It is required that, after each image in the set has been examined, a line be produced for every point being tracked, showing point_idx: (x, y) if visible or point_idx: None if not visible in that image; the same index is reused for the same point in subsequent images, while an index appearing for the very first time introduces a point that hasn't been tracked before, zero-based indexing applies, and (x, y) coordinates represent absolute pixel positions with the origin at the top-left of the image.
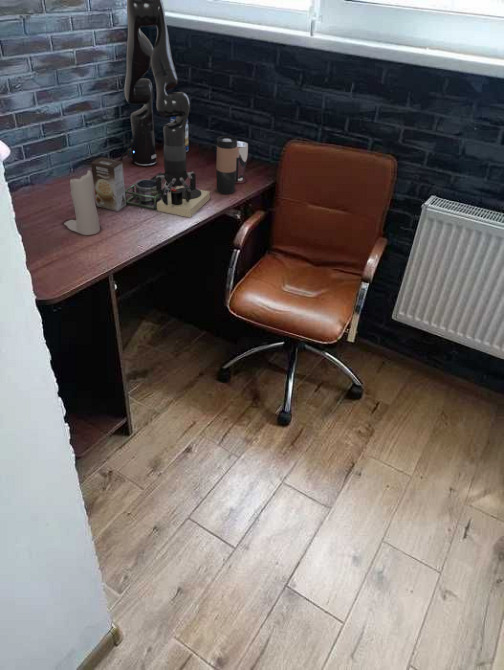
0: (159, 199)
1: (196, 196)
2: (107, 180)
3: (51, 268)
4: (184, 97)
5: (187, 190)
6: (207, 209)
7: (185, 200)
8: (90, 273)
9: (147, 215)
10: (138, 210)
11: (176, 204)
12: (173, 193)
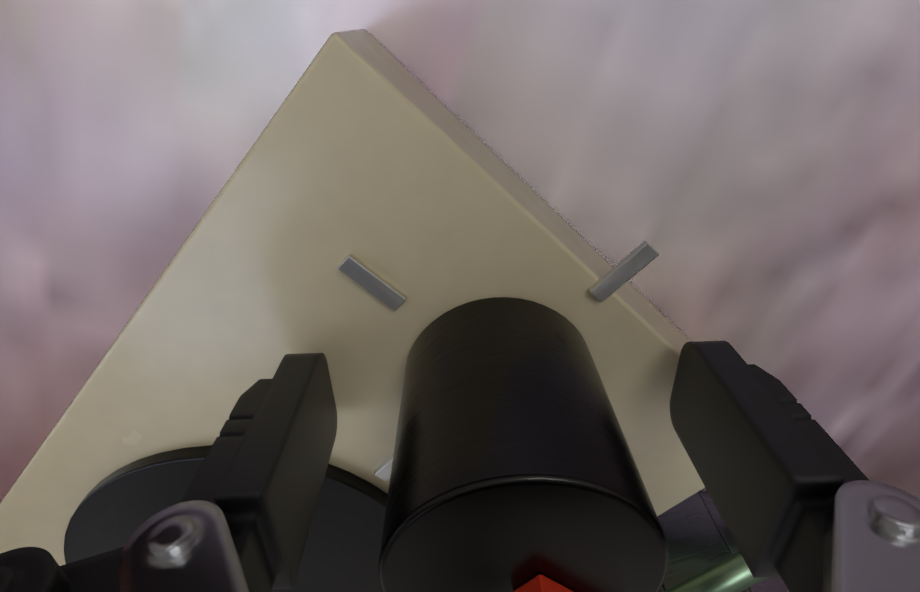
0: None
1: (141, 481)
2: None
3: None
4: None
5: (229, 545)
6: (52, 243)
7: (337, 422)
8: None
9: (904, 284)
10: (901, 421)
11: (540, 309)
12: (646, 499)
